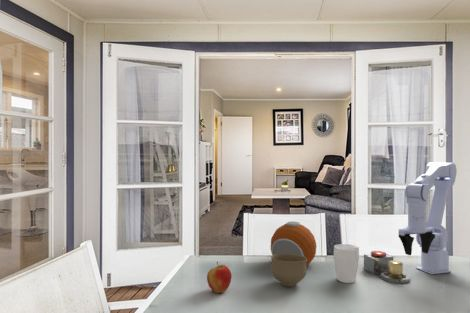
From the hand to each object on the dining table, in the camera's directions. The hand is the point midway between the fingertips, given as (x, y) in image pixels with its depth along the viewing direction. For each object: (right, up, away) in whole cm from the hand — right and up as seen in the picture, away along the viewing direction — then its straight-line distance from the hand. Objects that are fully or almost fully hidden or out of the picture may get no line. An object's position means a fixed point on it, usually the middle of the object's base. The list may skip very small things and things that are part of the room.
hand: (416, 253), depth 130 cm
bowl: (-48, -10, -5) cm, 49 cm away
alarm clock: (-42, -10, +19) cm, 47 cm away
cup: (-26, -10, 0) cm, 28 cm away
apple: (-72, -10, -11) cm, 73 cm away
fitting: (-8, -10, +1) cm, 12 cm away
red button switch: (-9, -9, +6) cm, 14 cm away
